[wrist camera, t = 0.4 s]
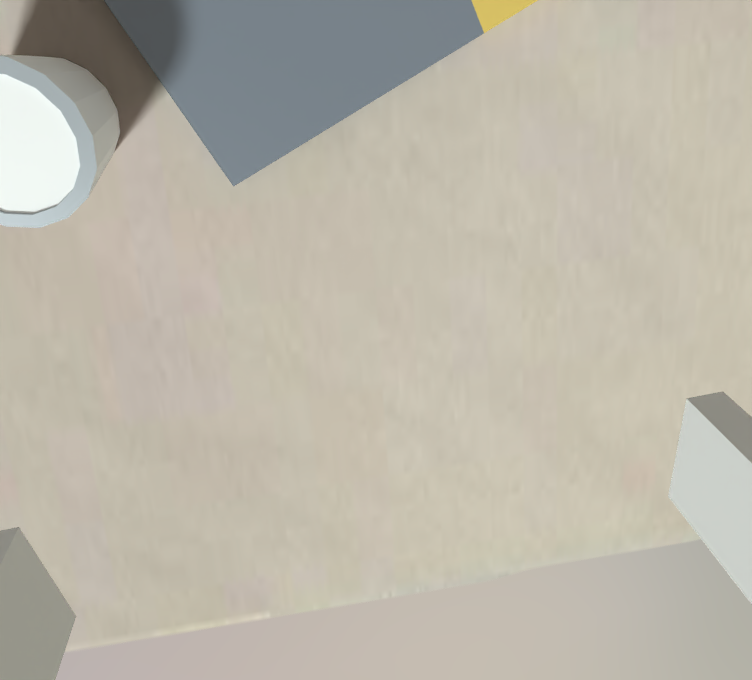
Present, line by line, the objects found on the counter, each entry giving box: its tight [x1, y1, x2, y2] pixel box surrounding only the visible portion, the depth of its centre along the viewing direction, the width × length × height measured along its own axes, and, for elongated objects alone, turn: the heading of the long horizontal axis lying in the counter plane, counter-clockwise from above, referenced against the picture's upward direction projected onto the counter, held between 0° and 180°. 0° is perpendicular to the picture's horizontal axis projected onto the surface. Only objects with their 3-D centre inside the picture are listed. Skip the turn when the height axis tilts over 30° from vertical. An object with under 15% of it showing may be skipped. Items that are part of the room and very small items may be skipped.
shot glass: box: [0, 55, 120, 228], centre depth 27 cm, size 7×7×7 cm
